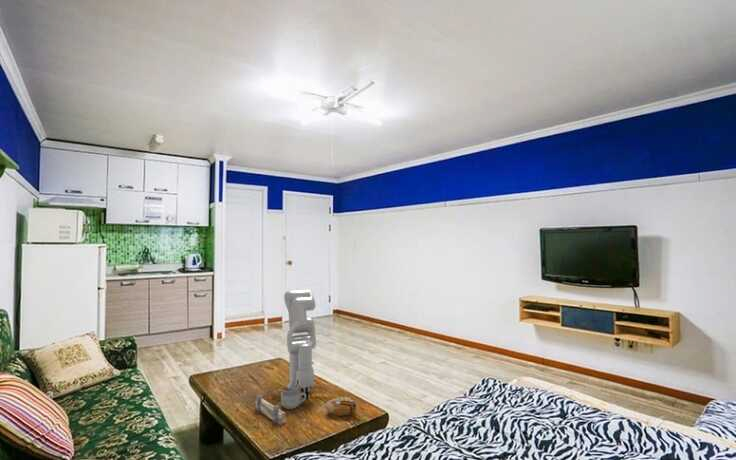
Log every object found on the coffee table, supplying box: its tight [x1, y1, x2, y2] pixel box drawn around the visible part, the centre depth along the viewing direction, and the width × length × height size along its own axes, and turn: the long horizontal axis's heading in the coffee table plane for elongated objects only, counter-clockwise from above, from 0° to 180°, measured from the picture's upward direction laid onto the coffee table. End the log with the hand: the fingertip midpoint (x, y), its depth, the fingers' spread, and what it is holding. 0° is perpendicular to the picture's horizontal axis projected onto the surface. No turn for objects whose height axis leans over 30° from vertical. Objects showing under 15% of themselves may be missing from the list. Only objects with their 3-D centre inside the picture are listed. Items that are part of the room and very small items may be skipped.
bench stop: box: [255, 394, 287, 426], centre depth 193 cm, size 4×26×8 cm, turn 43°
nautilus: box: [324, 396, 360, 421], centre depth 192 cm, size 8×22×15 cm
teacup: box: [280, 389, 306, 410], centre depth 203 cm, size 14×11×8 cm
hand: (305, 398), depth 208 cm, fingers closed
